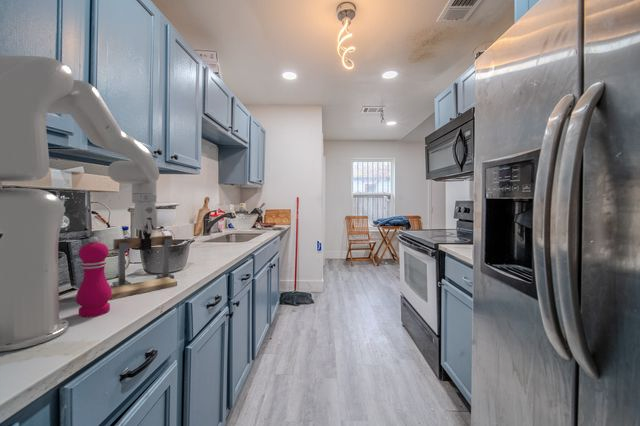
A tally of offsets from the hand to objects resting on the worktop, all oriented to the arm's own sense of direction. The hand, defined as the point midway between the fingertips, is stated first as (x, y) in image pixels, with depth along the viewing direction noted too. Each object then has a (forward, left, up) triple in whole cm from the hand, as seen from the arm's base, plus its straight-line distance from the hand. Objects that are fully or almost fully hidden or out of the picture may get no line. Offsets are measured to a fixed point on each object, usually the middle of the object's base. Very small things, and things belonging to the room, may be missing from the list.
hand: (144, 248), depth 98 cm
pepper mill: (-18, -23, -12) cm, 31 cm away
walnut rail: (0, 0, +1) cm, 1 cm away
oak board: (-5, -10, -12) cm, 16 cm away
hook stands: (0, 0, -12) cm, 12 cm away
